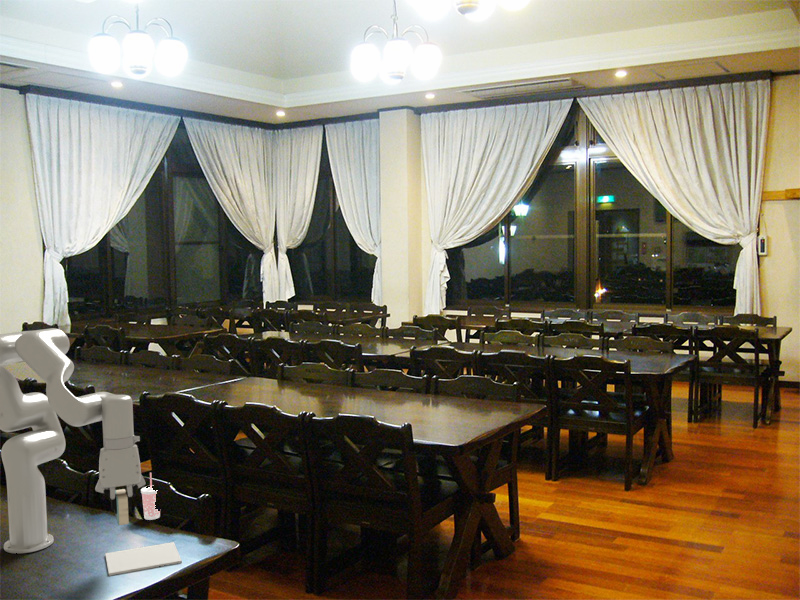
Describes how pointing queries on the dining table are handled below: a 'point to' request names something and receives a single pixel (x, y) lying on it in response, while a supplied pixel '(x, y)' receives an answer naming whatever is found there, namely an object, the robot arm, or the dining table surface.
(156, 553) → the off-white board
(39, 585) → the dining table surface
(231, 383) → the dining table surface
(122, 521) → the tan notched wooden block
